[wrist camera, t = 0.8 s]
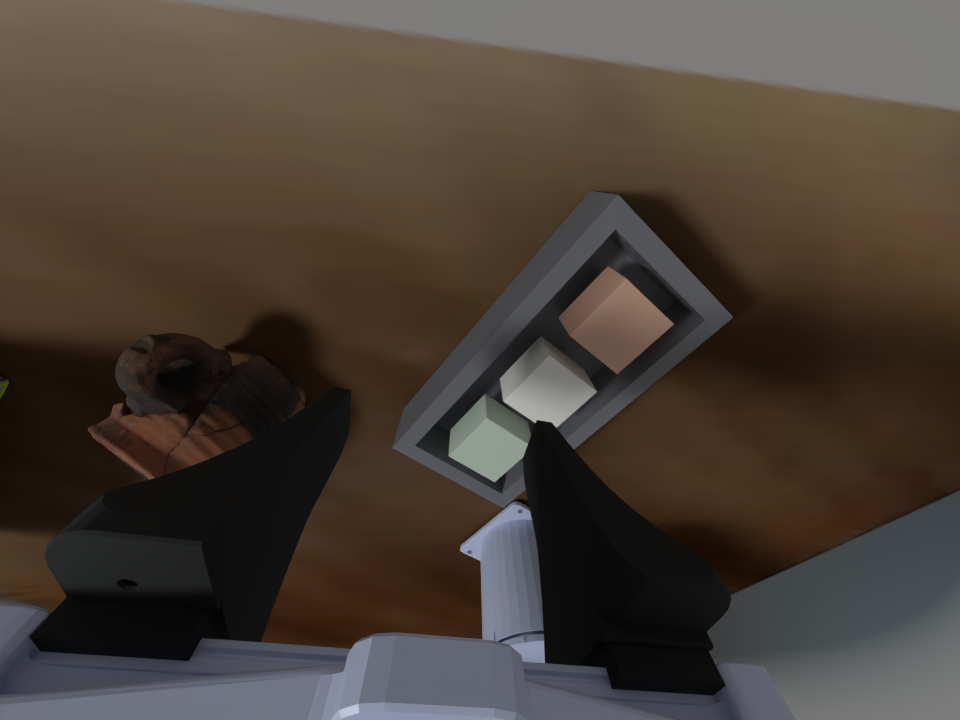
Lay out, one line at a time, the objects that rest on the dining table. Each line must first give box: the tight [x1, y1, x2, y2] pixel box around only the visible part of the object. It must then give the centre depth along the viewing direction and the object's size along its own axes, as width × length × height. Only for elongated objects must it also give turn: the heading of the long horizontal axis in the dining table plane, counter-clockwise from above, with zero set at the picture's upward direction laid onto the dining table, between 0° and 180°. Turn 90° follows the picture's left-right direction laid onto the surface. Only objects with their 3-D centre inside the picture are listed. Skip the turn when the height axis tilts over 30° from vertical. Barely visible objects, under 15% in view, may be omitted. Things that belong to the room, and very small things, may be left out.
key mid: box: [500, 336, 597, 428], centre depth 20 cm, size 4×4×2 cm
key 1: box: [448, 394, 531, 482], centre depth 21 cm, size 4×4×2 cm
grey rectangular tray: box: [392, 191, 733, 508], centre depth 21 cm, size 9×18×4 cm, turn 141°
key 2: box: [559, 267, 674, 374], centre depth 18 cm, size 4×4×2 cm
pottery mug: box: [88, 333, 306, 480], centre depth 21 cm, size 12×10×8 cm
